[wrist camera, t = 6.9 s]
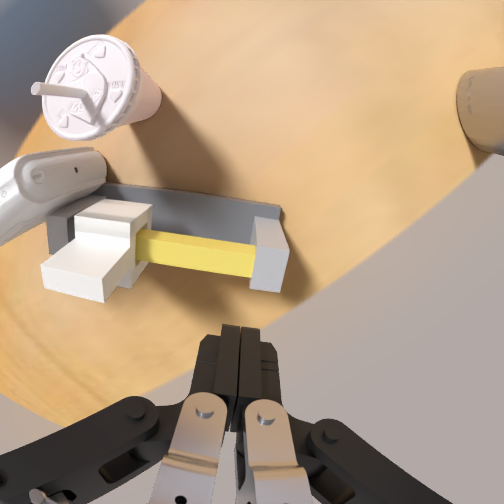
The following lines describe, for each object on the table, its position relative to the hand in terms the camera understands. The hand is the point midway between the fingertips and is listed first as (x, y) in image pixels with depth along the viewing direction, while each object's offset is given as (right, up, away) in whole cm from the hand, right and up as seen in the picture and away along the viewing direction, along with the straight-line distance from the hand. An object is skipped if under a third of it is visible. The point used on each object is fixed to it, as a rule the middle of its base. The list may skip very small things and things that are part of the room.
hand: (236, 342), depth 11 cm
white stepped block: (-9, +5, +9) cm, 14 cm away
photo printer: (-17, +10, +11) cm, 23 cm away
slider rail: (-6, +7, +13) cm, 16 cm away
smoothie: (-9, +16, +9) cm, 21 cm away
